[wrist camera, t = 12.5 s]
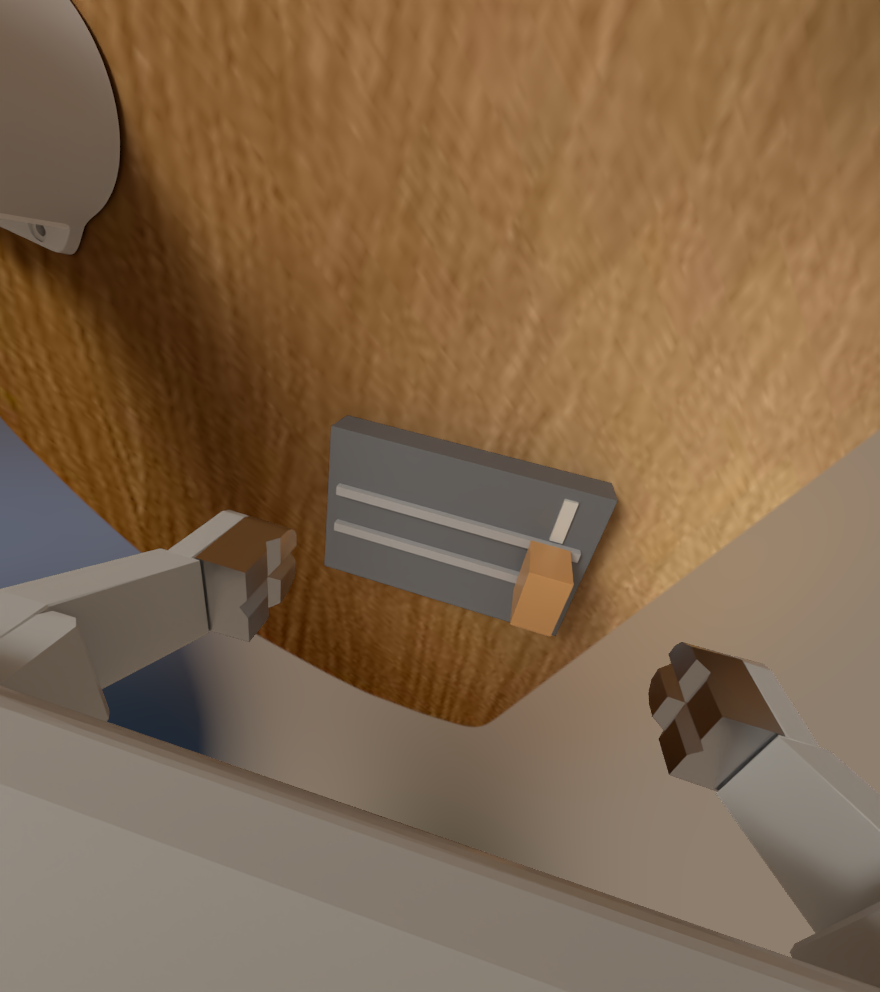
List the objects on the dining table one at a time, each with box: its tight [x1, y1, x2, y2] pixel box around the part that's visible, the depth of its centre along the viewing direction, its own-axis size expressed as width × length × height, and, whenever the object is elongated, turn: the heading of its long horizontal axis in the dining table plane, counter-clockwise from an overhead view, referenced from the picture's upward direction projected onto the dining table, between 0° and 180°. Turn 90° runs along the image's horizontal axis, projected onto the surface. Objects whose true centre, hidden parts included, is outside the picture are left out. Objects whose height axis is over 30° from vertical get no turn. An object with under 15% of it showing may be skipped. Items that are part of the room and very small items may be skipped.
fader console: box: [325, 416, 618, 636], centre depth 34 cm, size 22×14×4 cm, turn 79°
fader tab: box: [510, 540, 574, 637], centre depth 30 cm, size 3×5×5 cm, turn 169°
